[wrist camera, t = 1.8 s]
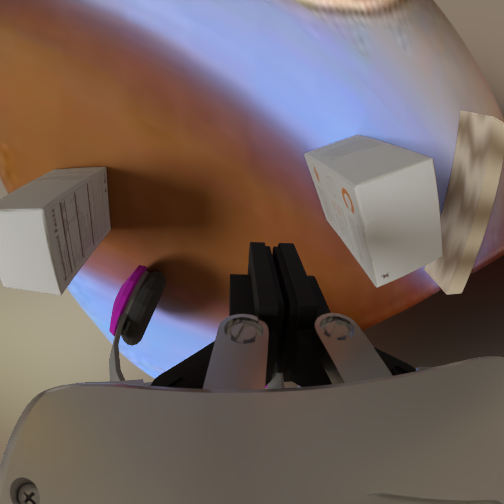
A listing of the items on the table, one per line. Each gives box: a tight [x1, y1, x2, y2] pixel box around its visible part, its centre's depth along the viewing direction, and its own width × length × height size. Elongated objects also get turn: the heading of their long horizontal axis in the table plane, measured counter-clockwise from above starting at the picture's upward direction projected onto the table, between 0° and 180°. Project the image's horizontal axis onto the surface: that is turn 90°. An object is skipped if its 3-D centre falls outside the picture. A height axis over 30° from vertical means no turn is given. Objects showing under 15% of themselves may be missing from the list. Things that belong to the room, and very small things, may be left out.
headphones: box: [109, 265, 284, 389], centre depth 27 cm, size 21×9×20 cm, turn 61°
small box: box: [304, 135, 443, 288], centre depth 23 cm, size 8×6×13 cm
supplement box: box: [0, 167, 111, 295], centre depth 22 cm, size 7×7×13 cm
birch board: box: [424, 111, 504, 294], centre depth 27 cm, size 22×3×6 cm, turn 176°
